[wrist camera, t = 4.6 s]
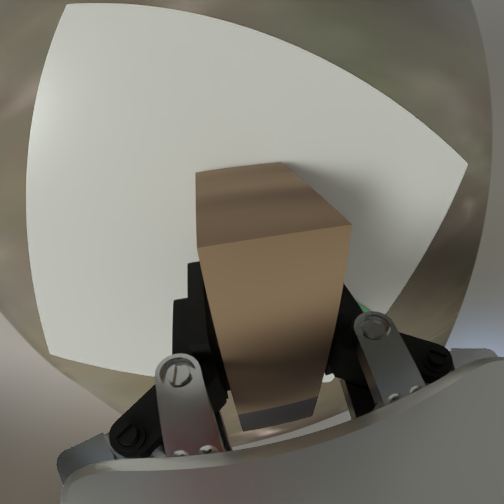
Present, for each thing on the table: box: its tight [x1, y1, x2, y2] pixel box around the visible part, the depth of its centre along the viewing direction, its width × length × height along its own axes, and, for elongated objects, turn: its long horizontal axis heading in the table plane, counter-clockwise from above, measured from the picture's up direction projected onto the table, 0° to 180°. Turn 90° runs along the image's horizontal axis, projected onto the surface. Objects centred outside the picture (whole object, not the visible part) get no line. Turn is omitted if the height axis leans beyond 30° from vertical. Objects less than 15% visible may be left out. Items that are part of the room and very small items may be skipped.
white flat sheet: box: [26, 3, 468, 382], centre depth 12 cm, size 18×20×2 cm
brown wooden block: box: [195, 162, 352, 432], centre depth 10 cm, size 9×3×5 cm, turn 4°
